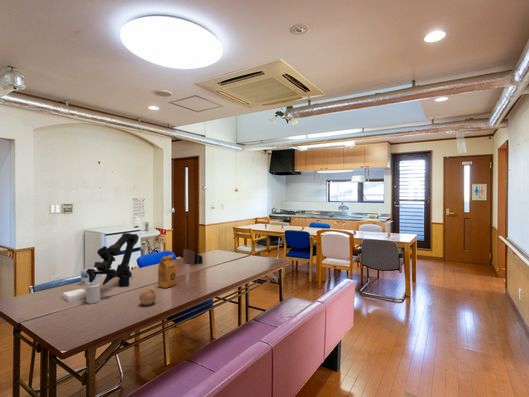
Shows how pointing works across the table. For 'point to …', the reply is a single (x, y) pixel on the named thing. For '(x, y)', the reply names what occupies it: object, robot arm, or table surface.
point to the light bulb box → (86, 277)
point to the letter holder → (192, 257)
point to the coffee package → (167, 272)
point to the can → (93, 292)
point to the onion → (147, 297)
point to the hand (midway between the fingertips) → (96, 284)
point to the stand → (74, 295)
